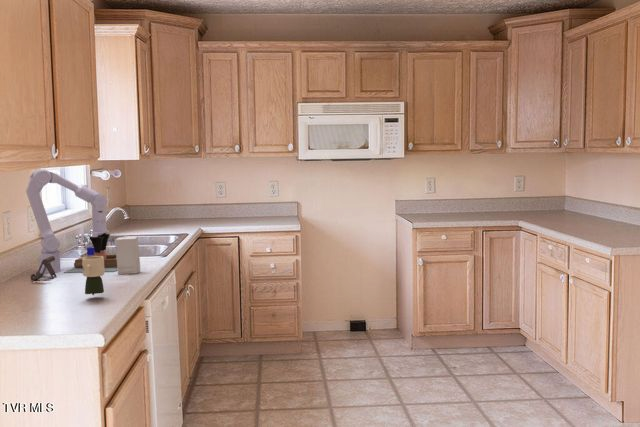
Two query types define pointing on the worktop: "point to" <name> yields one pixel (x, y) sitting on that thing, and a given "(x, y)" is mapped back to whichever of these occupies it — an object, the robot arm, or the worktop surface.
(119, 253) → the skincare box
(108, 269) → the dock mat
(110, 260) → the brown wooden tray
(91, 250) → the cable clip
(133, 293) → the worktop surface
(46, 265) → the portable electronic device stand
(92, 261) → the character mug
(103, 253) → the part block
